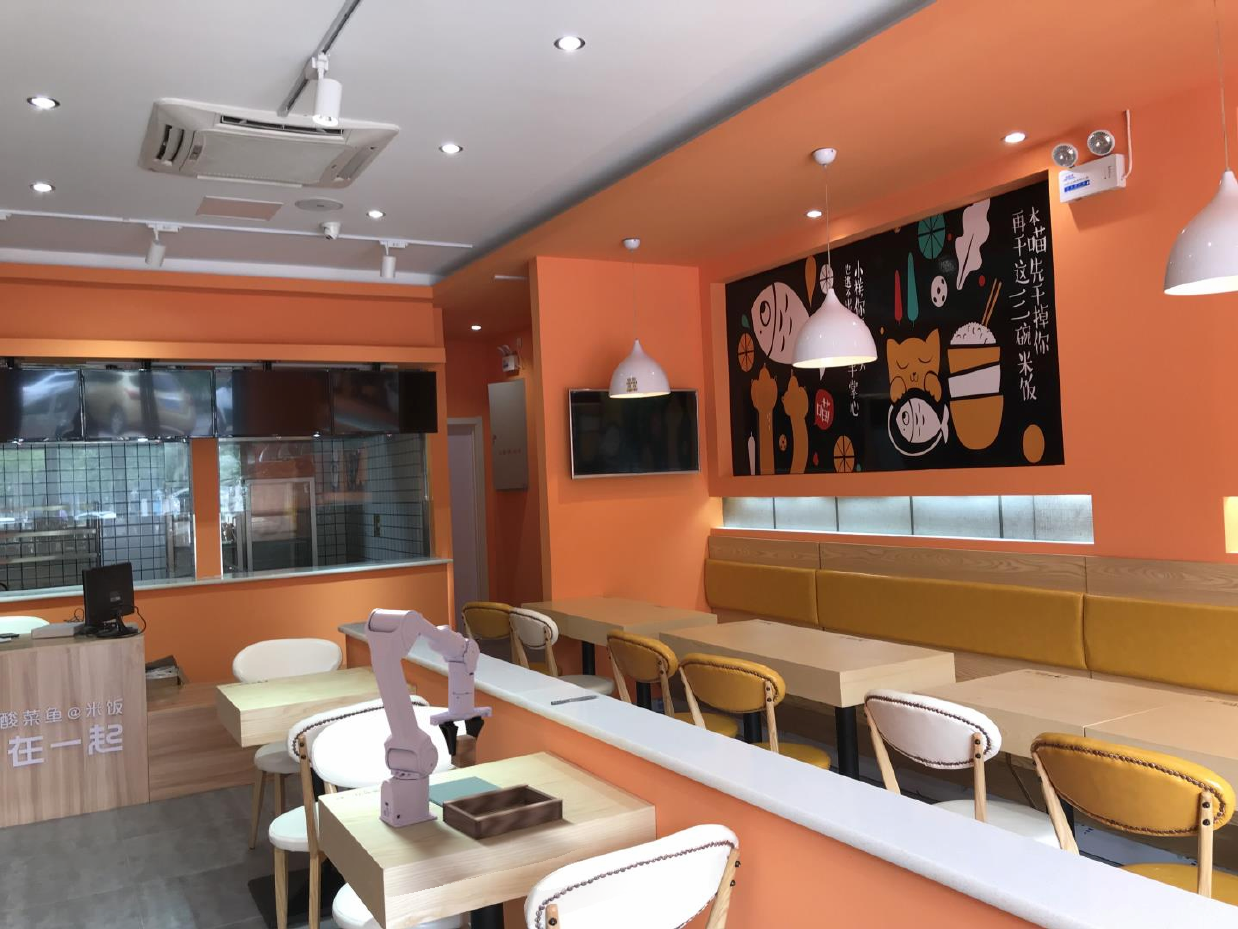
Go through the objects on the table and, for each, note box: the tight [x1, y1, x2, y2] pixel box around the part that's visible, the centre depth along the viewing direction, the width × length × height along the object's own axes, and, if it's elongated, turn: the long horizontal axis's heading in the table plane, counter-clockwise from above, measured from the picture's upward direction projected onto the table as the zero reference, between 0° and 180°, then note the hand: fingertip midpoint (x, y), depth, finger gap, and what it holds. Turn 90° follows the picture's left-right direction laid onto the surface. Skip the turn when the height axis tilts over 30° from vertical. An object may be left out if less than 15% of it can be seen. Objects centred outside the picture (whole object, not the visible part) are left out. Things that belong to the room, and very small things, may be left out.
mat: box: [429, 775, 504, 808], centre depth 216 cm, size 16×16×1 cm
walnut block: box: [450, 733, 477, 769], centre depth 215 cm, size 4×4×6 cm
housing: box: [442, 783, 564, 840], centre depth 198 cm, size 20×14×4 cm
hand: (461, 753), depth 216 cm, fingers closed on walnut block, 4 cm apart
